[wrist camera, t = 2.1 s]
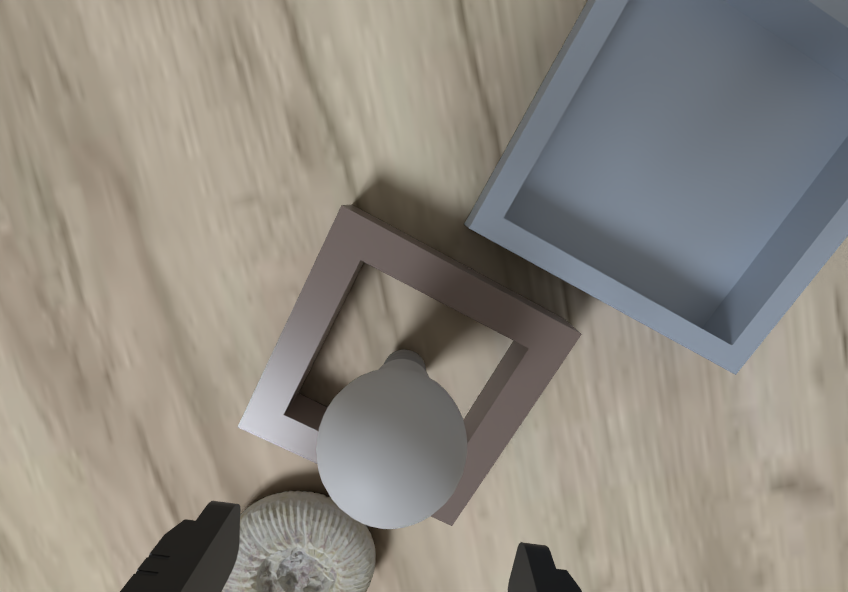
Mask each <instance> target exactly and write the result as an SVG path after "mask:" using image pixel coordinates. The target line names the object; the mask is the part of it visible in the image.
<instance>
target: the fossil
mask: <svg viewBox="0 0 848 592" xmlns="http://www.w3.org/2000/svg"><path fill="white" fill-rule="evenodd" d="M374 568H375V545H374V542H373V539H372V537H371V533H370V532H369V530H368V528H367V526H366V525H365V524H362V523H360V522H359V521H357V520H355V519H353V518H352V517H350V516H349V515H348V514H347V513H345V512H344V511H343V510H341V509H340V508H339V507H338V506H337V504H336V503H335V502H334V501H333V500H332V498H331V497H328V498H327V497H326V496H325V495H324V494H322V495H321V494H319V493H313V492H306V491H303V492H301V491H295V492H294V491H289V492H287V491H285V492H282V493H277V494H275V495H274V494H272V495H271V496H267V497H265V498H263V499H260V500H259V501H258V502H255V503H254V504H252V505H251V506H249V507H248V508H247V509H246V510H245V511H243V513H241V514H240V541H239V551H238V556H237V559H236V562H235V565H234V568H233V570H232V572H231V574H230V576H229V578H228V580H227V582H226V584H225V586H224V588H223V590H222V592H366V591H367V589H368V587H369V585H370V582H371V579H372V577H373V573H374Z"/></svg>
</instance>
